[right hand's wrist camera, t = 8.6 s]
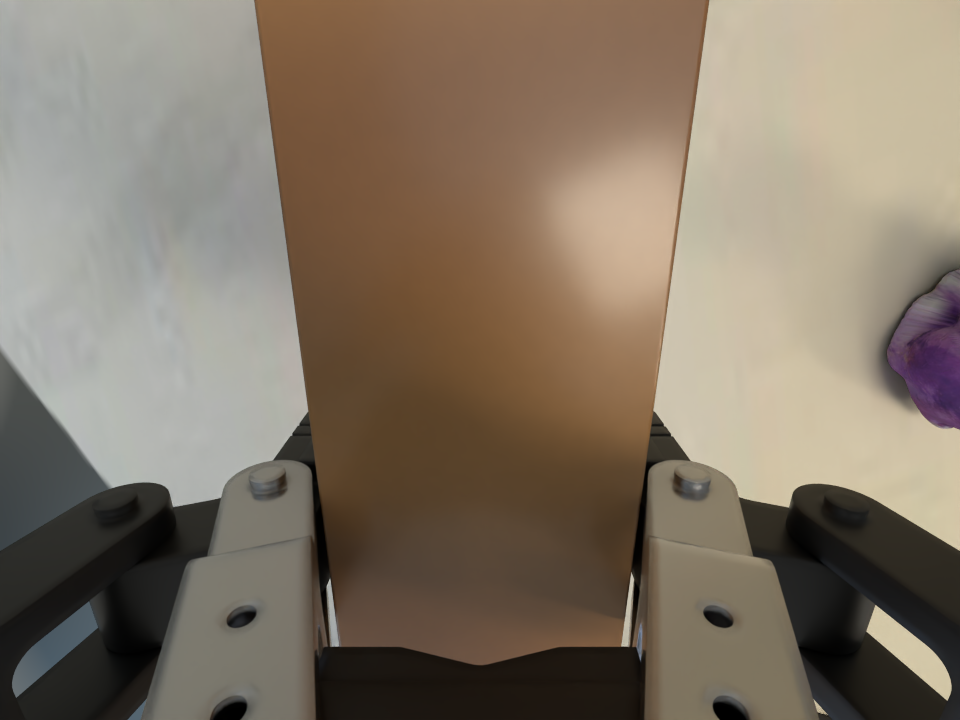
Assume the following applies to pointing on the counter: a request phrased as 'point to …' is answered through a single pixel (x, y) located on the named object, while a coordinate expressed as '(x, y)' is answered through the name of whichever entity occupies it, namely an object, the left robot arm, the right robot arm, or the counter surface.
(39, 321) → the counter surface
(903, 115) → the counter surface
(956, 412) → the figurine
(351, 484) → the post
